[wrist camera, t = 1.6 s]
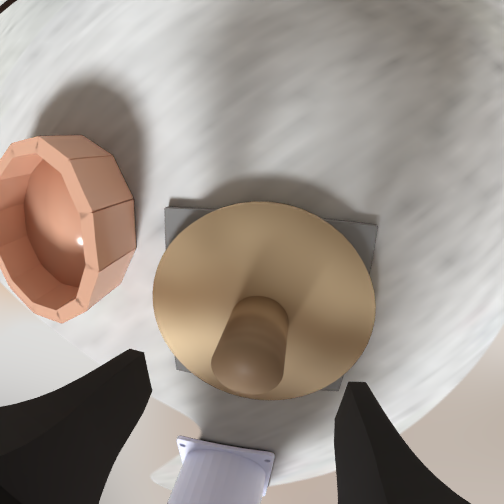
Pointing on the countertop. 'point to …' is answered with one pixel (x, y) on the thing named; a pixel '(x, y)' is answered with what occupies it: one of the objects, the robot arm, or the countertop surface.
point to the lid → (264, 301)
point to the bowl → (63, 224)
